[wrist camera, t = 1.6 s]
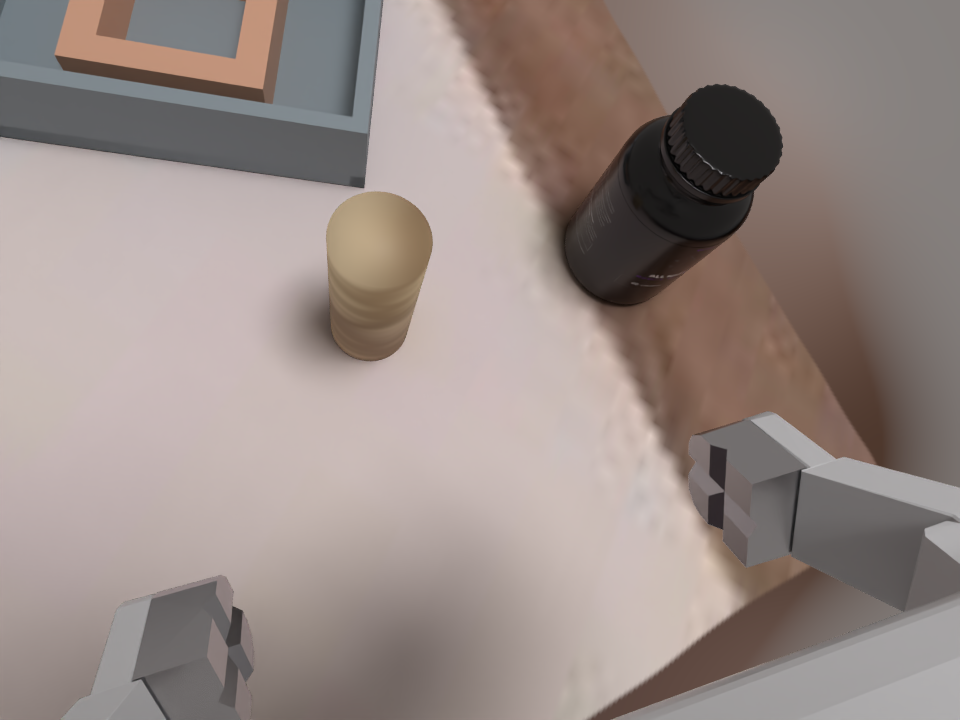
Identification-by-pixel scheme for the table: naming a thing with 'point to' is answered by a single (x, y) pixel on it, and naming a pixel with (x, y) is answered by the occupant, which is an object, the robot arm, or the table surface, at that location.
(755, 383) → the table surface
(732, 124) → the supplement bottle
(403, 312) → the beech peg
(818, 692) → the robot arm
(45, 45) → the open-top box
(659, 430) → the table surface
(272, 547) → the table surface
